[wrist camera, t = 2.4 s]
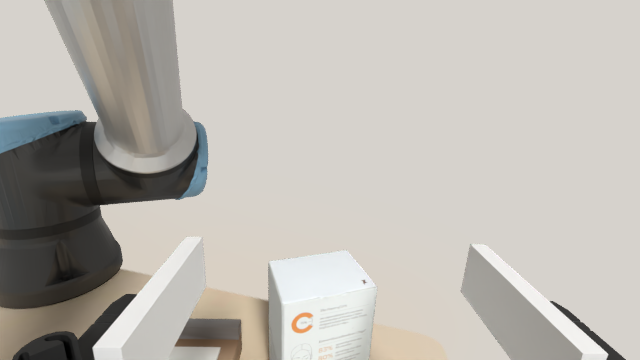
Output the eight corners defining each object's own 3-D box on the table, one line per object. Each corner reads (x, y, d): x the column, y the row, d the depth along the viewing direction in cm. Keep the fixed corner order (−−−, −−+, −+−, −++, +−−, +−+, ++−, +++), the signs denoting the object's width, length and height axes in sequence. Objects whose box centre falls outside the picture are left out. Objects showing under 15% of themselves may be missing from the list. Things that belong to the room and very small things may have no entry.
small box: (339, 351, 35) (348, 248, 31) (365, 405, 29) (380, 286, 25) (267, 370, 32) (267, 259, 28) (280, 433, 26) (282, 304, 22)
